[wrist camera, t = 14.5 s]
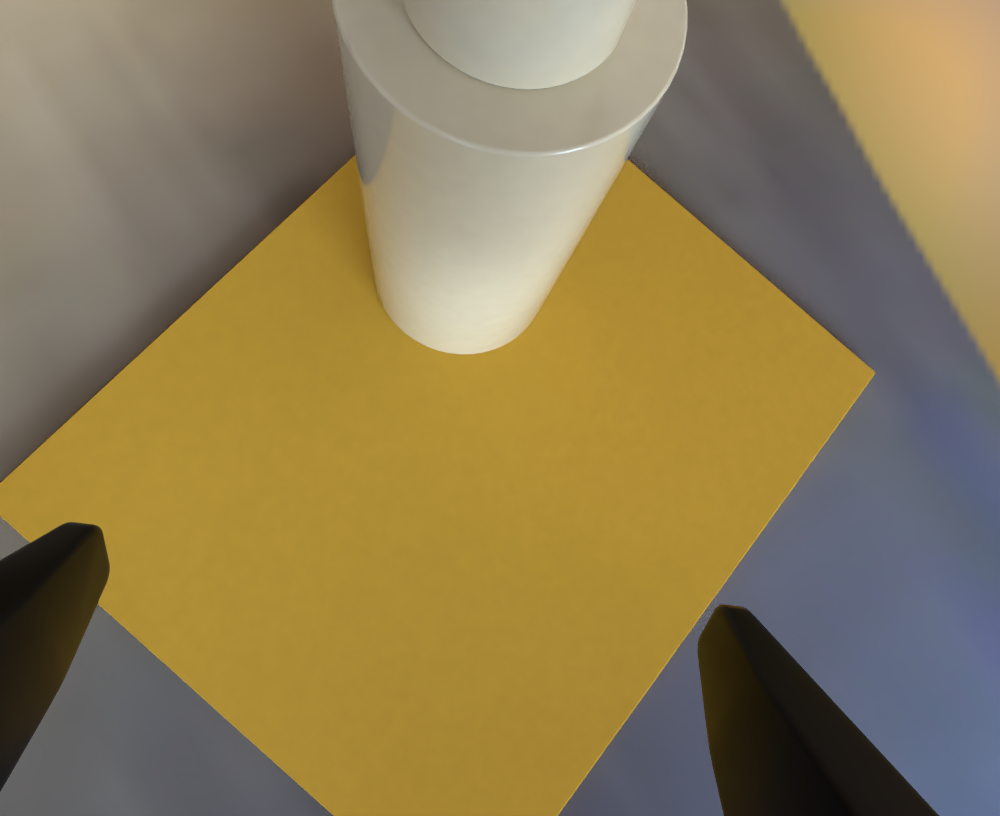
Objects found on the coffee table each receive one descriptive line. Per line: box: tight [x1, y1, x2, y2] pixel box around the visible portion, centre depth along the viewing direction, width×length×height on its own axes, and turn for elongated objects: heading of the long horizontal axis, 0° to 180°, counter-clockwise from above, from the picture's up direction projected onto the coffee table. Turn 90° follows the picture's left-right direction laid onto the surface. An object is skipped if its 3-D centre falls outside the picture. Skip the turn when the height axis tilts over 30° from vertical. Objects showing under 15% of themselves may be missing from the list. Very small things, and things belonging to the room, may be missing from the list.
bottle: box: [332, 0, 687, 354], centre depth 13 cm, size 5×5×12 cm
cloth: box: [0, 155, 875, 816], centre depth 18 cm, size 19×16×1 cm
